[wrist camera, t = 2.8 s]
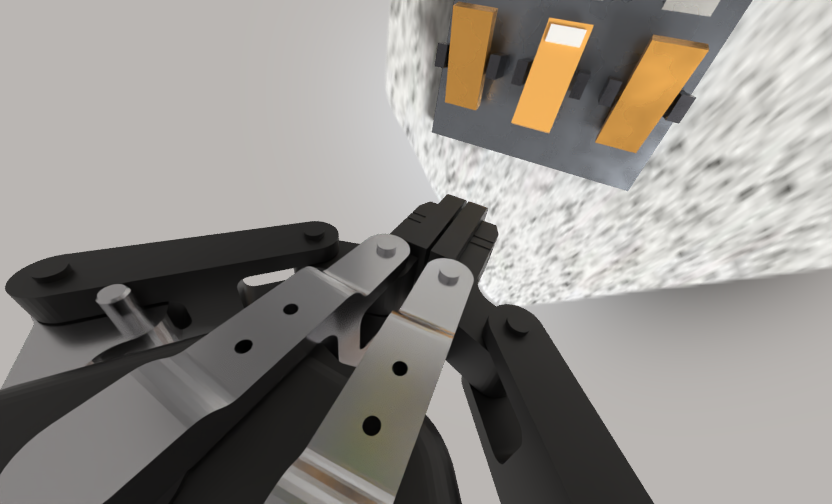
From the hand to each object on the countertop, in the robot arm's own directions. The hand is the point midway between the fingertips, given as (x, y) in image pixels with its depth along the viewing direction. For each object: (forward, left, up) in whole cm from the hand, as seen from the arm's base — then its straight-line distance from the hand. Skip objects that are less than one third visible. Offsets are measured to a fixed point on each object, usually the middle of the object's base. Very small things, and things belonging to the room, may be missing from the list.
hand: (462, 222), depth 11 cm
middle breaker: (0, -3, -18) cm, 18 cm away
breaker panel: (0, -3, -23) cm, 23 cm away
